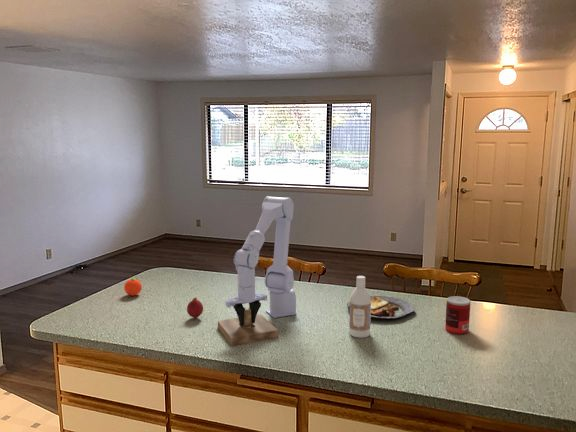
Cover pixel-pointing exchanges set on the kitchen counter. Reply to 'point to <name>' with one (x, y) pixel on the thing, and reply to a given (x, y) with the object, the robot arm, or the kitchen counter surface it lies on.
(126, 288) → the clementine
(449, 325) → the canned food
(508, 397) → the kitchen counter surface
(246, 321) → the peg
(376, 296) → the food plate
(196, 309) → the pomegranate
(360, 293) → the bath foam
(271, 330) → the board
